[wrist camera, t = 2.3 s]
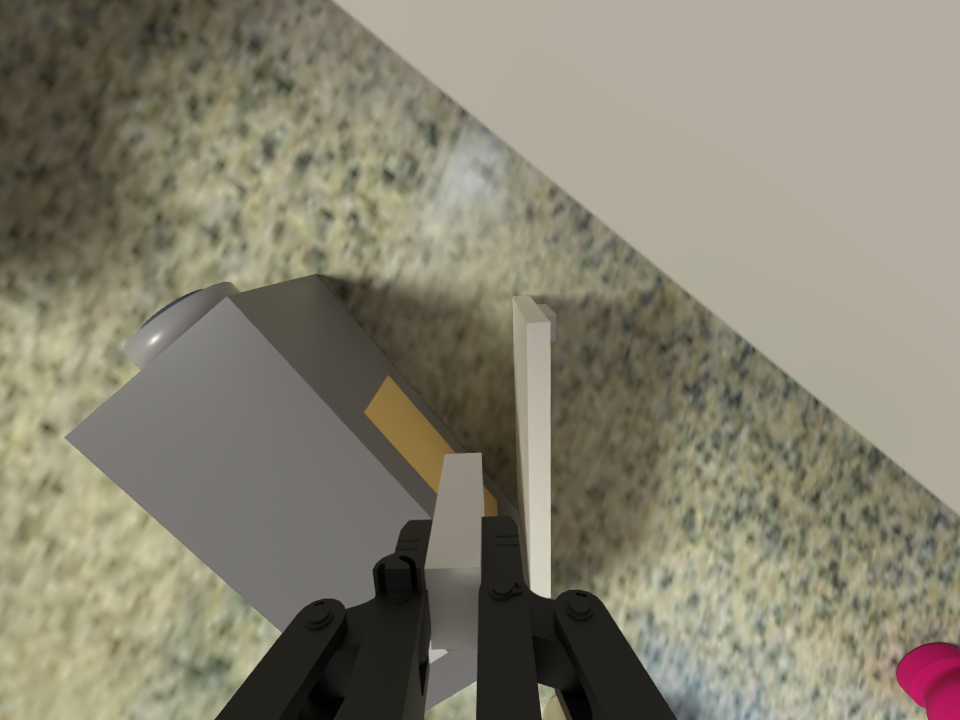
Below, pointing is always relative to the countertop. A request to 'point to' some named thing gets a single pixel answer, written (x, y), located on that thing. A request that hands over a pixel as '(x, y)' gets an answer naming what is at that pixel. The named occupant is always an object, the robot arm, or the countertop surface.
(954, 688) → the pepper mill
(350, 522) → the camera body
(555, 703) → the flower pot
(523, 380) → the side door
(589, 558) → the countertop surface
